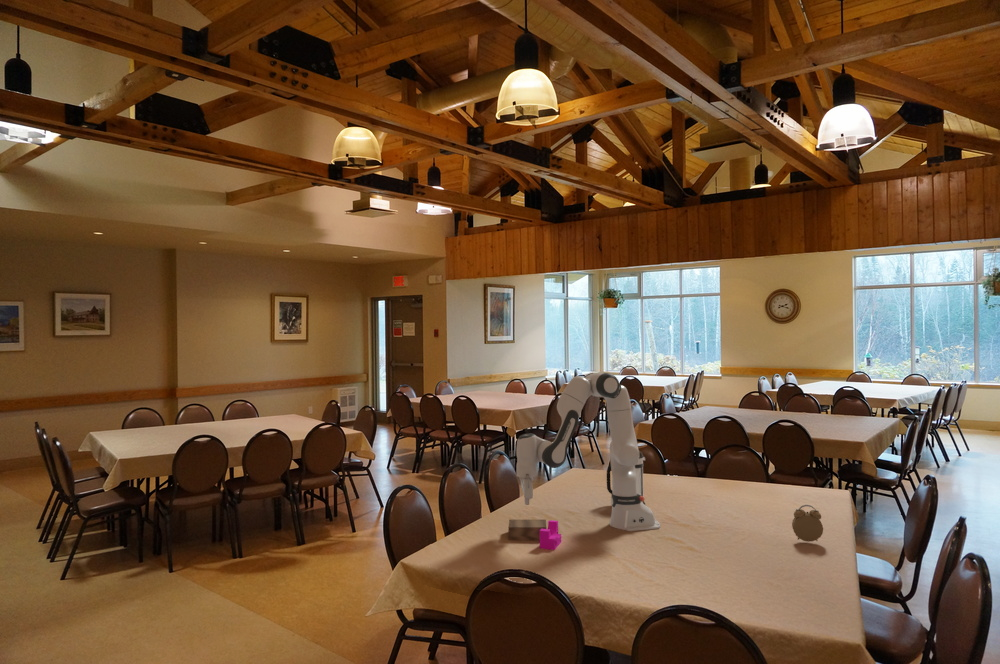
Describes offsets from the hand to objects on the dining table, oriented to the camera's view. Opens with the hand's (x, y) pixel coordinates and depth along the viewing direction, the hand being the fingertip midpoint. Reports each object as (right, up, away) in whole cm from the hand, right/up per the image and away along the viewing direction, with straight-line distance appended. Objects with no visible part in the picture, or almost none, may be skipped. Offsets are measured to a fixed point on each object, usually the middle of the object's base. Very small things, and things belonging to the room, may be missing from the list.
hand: (526, 504), depth 266 cm
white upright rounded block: (+54, -14, +49) cm, 74 cm away
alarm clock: (+115, -12, -11) cm, 117 cm away
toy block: (+10, -14, -9) cm, 20 cm away
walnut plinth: (0, -14, 0) cm, 14 cm away
